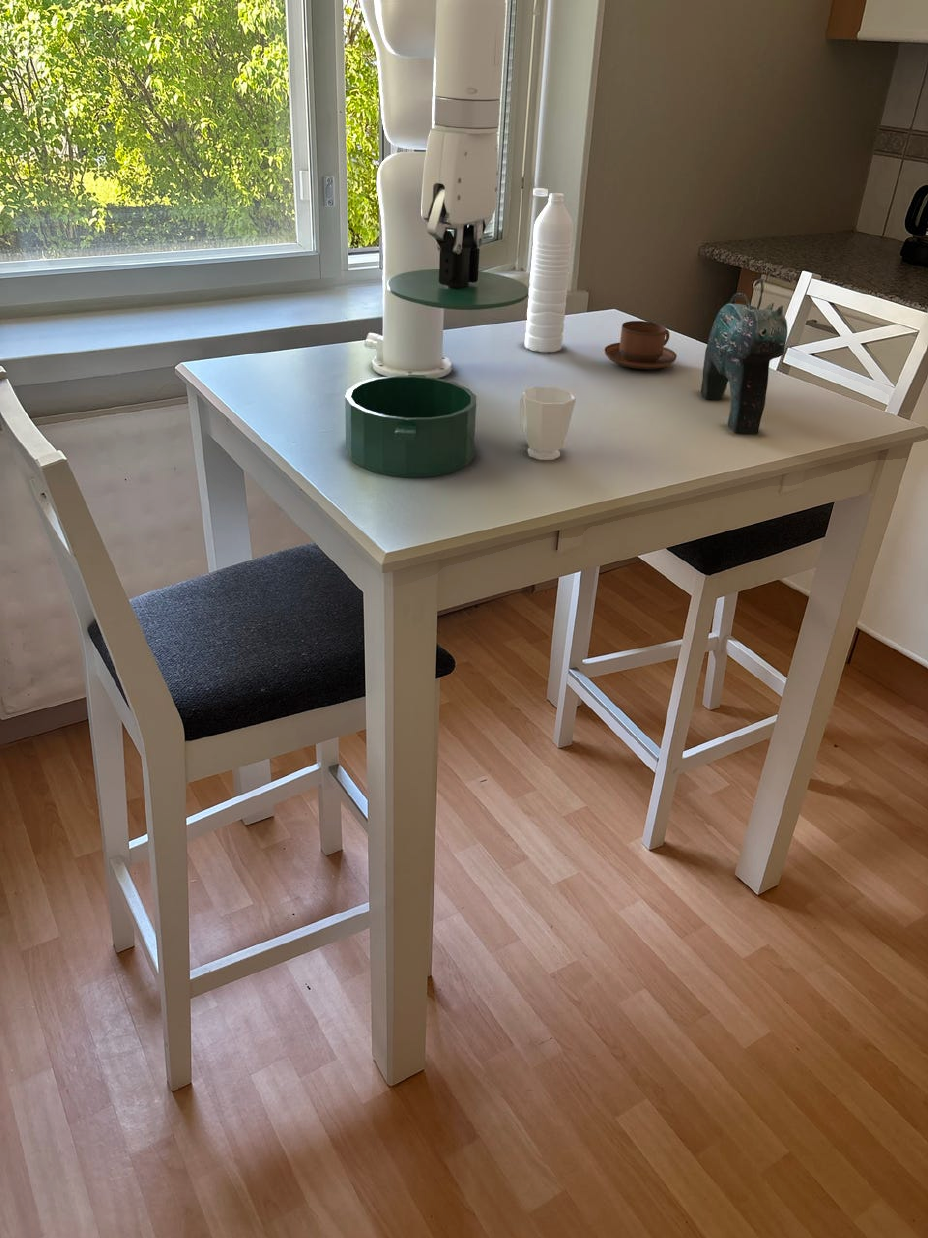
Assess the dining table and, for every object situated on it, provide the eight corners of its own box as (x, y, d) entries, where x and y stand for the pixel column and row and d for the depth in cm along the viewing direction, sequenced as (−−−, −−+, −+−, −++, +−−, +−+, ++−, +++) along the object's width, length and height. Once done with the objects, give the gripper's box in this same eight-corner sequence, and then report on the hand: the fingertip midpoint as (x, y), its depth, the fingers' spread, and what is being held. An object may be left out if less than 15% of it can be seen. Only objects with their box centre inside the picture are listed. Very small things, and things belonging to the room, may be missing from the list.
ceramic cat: (769, 439, 138) (801, 293, 127) (724, 438, 137) (753, 292, 127) (725, 392, 154) (751, 260, 144) (686, 391, 154) (708, 258, 143)
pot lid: (379, 309, 114) (380, 258, 111) (394, 273, 128) (395, 227, 125) (529, 318, 114) (533, 267, 111) (526, 281, 128) (530, 236, 125)
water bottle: (569, 350, 170) (585, 195, 157) (539, 355, 167) (553, 197, 153) (538, 337, 176) (551, 186, 163) (509, 341, 173) (520, 188, 160)
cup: (534, 467, 125) (539, 406, 121) (496, 440, 132) (500, 381, 128) (580, 459, 128) (587, 400, 124) (540, 433, 135) (546, 376, 131)
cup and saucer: (624, 348, 172) (628, 313, 169) (686, 363, 167) (692, 327, 163) (590, 363, 164) (594, 326, 161) (655, 379, 158) (661, 341, 155)
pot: (336, 482, 118) (335, 423, 114) (356, 419, 137) (356, 366, 133) (472, 489, 118) (475, 430, 114) (474, 425, 137) (477, 372, 133)
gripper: (475, 108, 118) (467, 266, 128) (397, 116, 106) (395, 289, 116) (529, 114, 115) (517, 276, 125) (455, 123, 103) (448, 301, 113)
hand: (458, 281), depth 120 cm, fingers closed on pot lid, 2 cm apart
